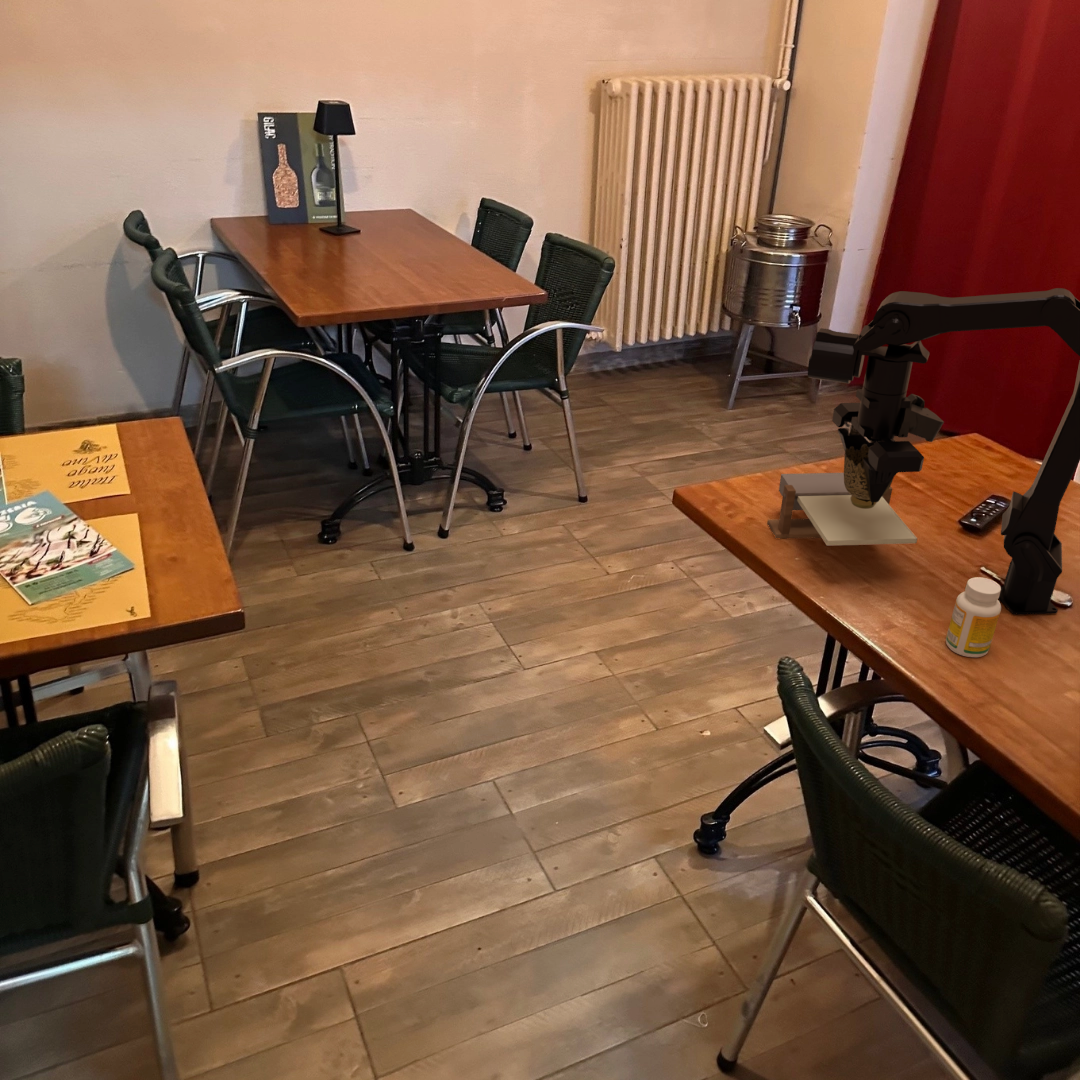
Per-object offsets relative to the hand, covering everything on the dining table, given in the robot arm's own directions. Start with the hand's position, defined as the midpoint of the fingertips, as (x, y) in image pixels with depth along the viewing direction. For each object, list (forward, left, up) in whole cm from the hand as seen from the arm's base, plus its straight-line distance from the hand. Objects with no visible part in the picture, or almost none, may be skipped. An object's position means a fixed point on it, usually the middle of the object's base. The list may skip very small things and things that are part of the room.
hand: (865, 491), depth 141 cm
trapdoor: (+6, 0, -8) cm, 10 cm away
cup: (0, 0, -2) cm, 2 cm away
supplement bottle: (-21, -8, -13) cm, 26 cm away
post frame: (+11, 0, -12) cm, 17 cm away
